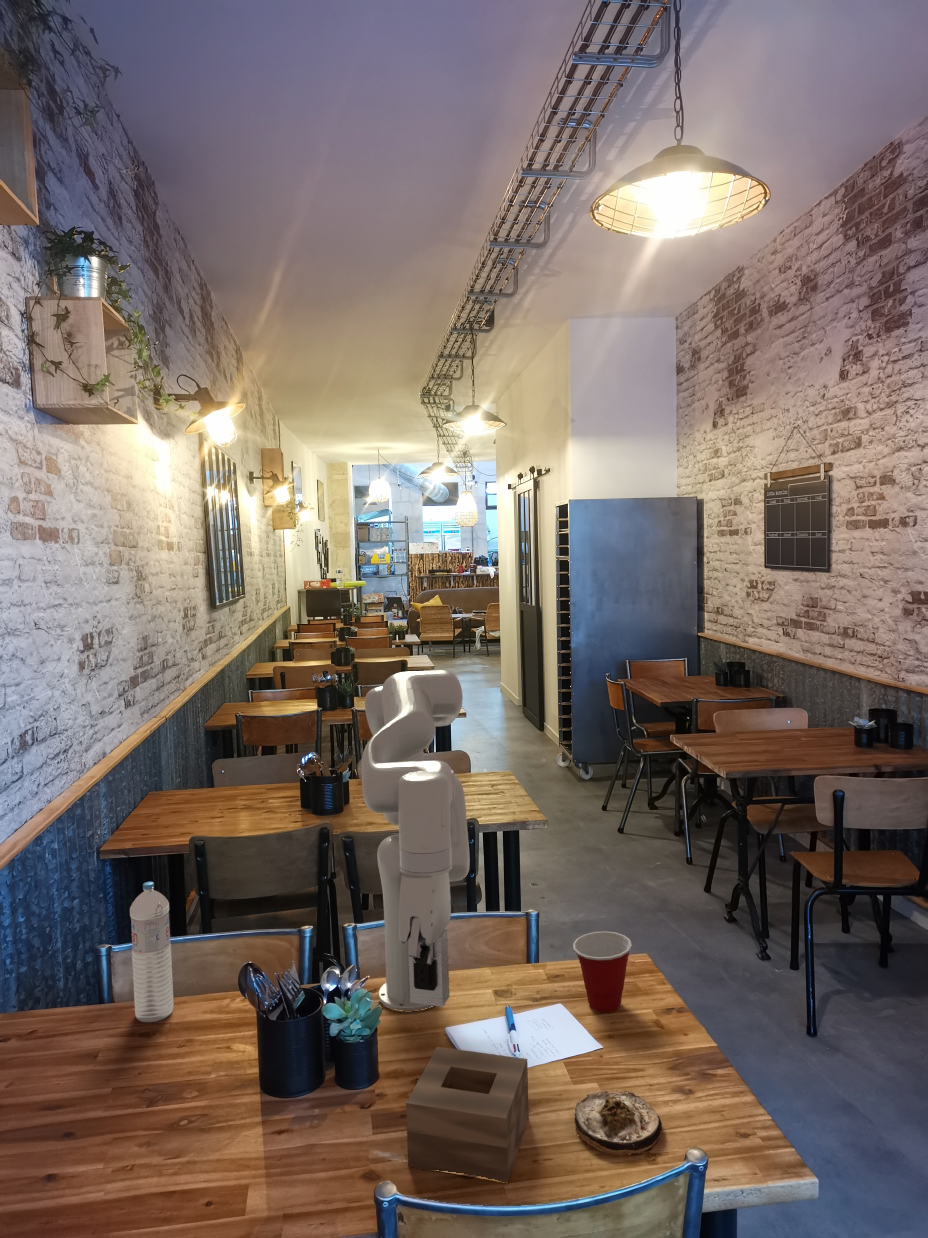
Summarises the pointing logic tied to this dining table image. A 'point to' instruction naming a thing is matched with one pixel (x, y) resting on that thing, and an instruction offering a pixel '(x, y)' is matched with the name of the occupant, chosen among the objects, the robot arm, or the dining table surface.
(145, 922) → the water bottle
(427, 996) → the gray rectangular block
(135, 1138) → the dining table surface
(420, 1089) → the wooden slotted box
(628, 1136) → the sushi roll
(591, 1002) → the plastic cup
